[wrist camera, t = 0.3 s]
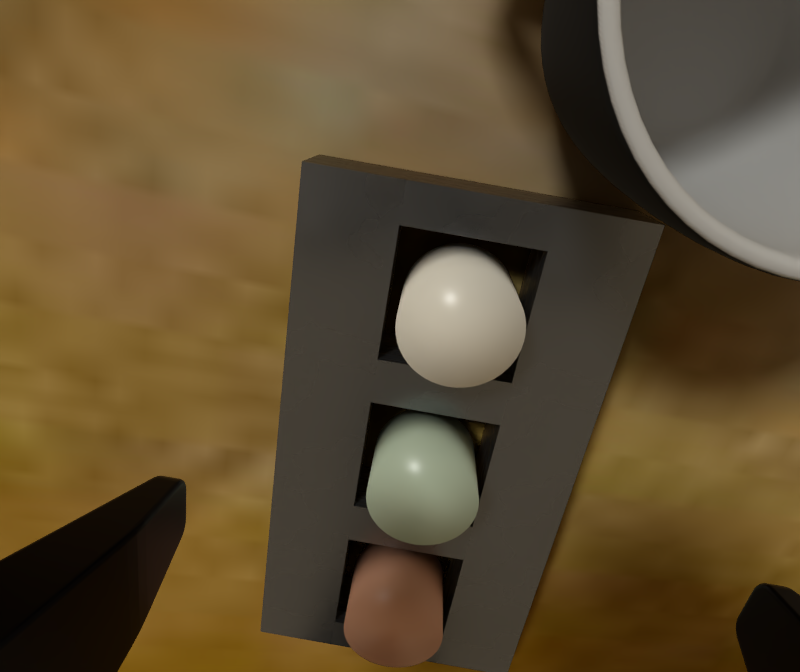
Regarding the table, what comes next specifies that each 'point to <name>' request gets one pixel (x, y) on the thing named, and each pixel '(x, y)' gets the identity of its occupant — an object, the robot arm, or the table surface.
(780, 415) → the table surface
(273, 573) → the grey holder
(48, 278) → the table surface
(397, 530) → the egg sage
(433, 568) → the salmon pink rounded lump
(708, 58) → the mug
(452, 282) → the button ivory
